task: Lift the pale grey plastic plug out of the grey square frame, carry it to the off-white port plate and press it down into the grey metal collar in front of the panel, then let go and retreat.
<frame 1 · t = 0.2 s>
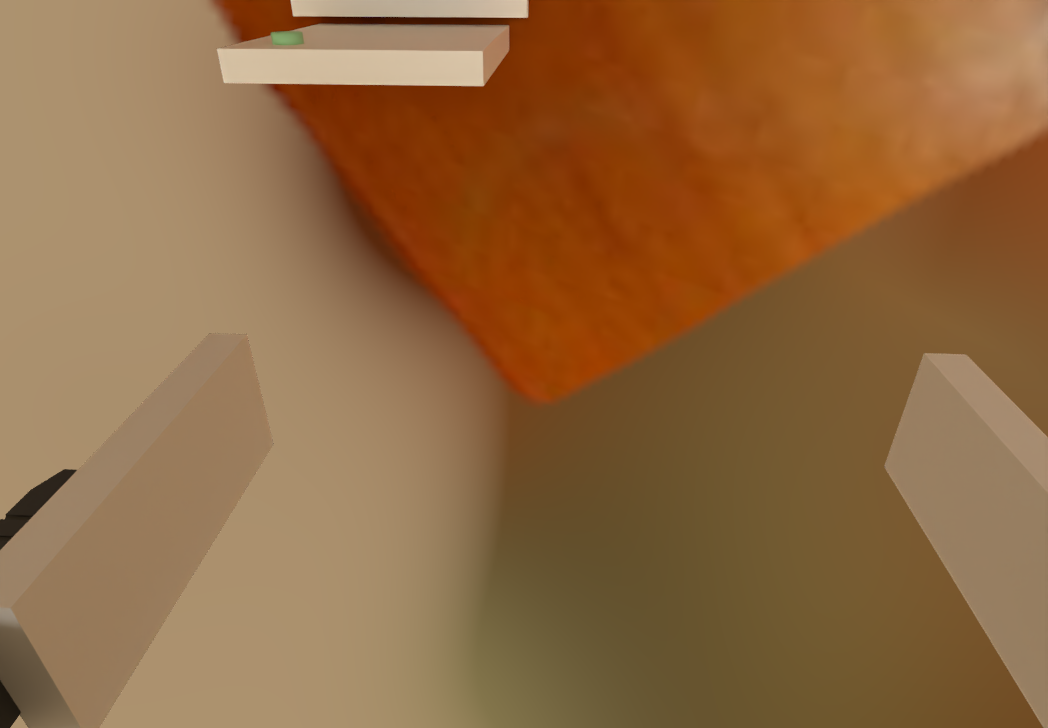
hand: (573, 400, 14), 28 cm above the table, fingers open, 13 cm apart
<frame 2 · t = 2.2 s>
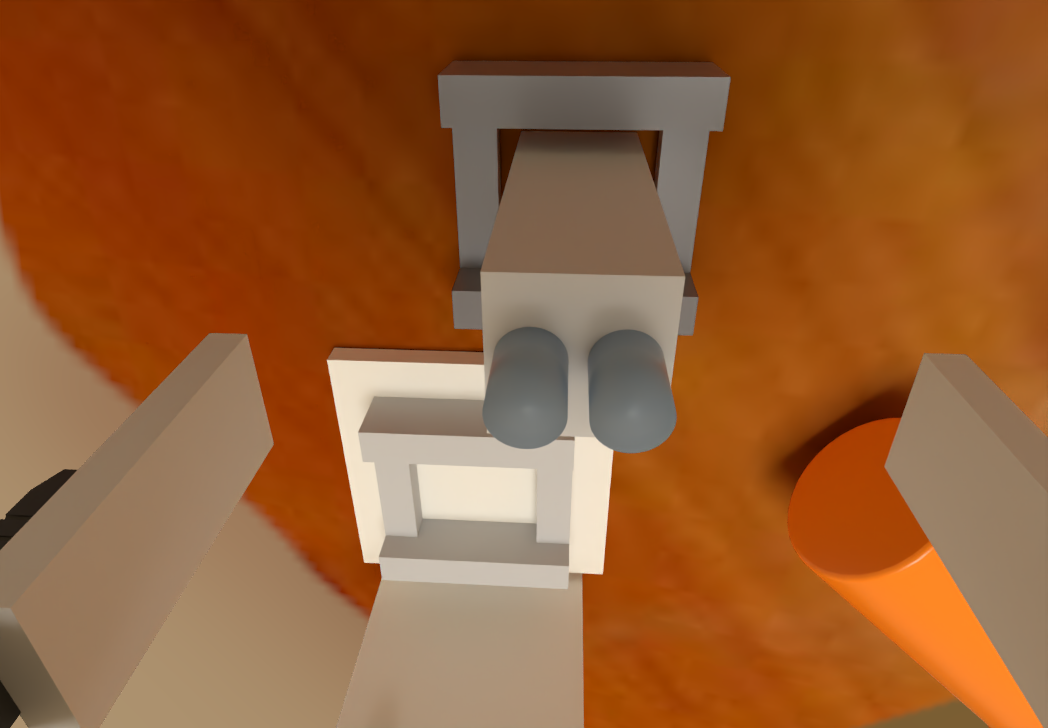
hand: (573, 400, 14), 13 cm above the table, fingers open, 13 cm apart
grey square frame: (576, 188, 24), on the table
plug: (576, 188, 24), resting in grey square frame
port: (480, 462, 32), on the table
cup: (862, 490, 25), point 4 cm above the table
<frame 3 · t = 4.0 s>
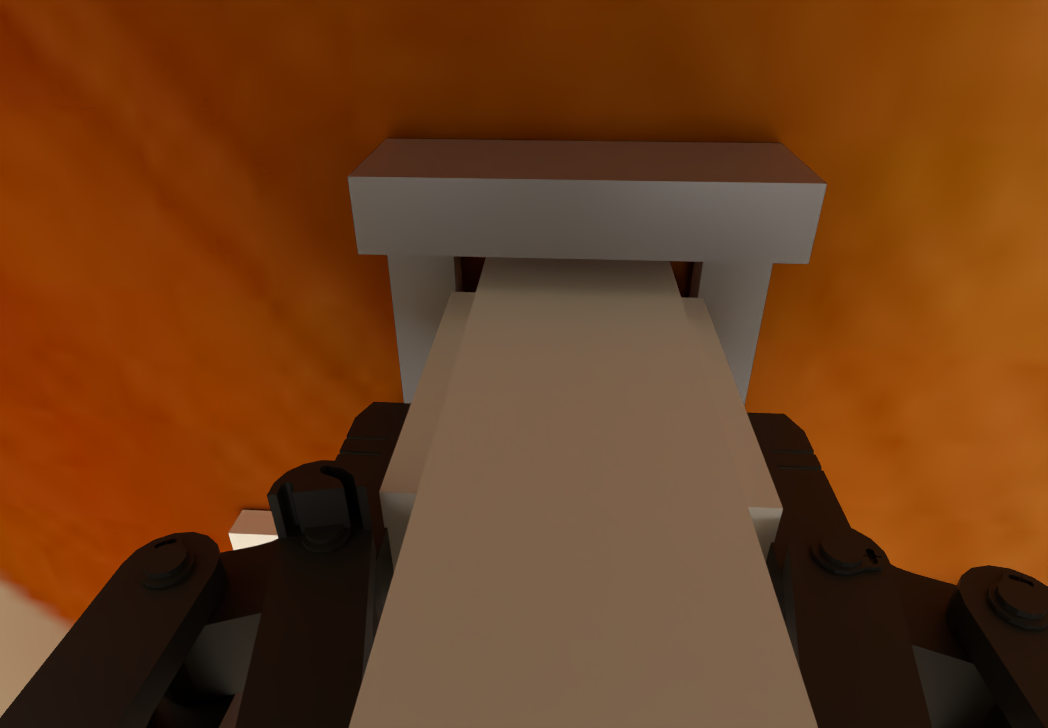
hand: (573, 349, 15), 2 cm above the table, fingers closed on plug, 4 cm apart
grey square frame: (573, 316, 17), on the table
plug: (573, 316, 17), resting in grey square frame, touching gripper
port: (446, 644, 24), on the table
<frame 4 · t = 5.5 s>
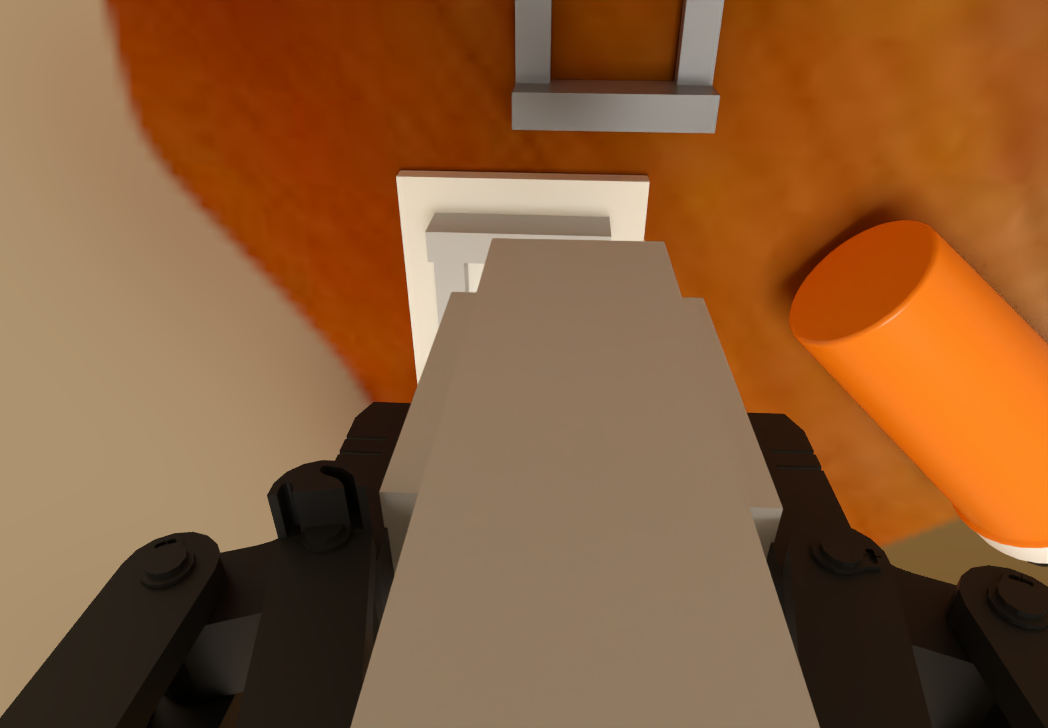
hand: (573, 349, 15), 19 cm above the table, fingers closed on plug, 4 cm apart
grey square frame: (616, 11, 29), on the table
plug: (574, 316, 17), point 18 cm above the table, touching gripper
port: (523, 284, 36), on the table
cup: (853, 278, 30), point 4 cm above the table
when the fingers open (3 cm above the table, at t = 8.3 s): plug stays where it is, resting on port.
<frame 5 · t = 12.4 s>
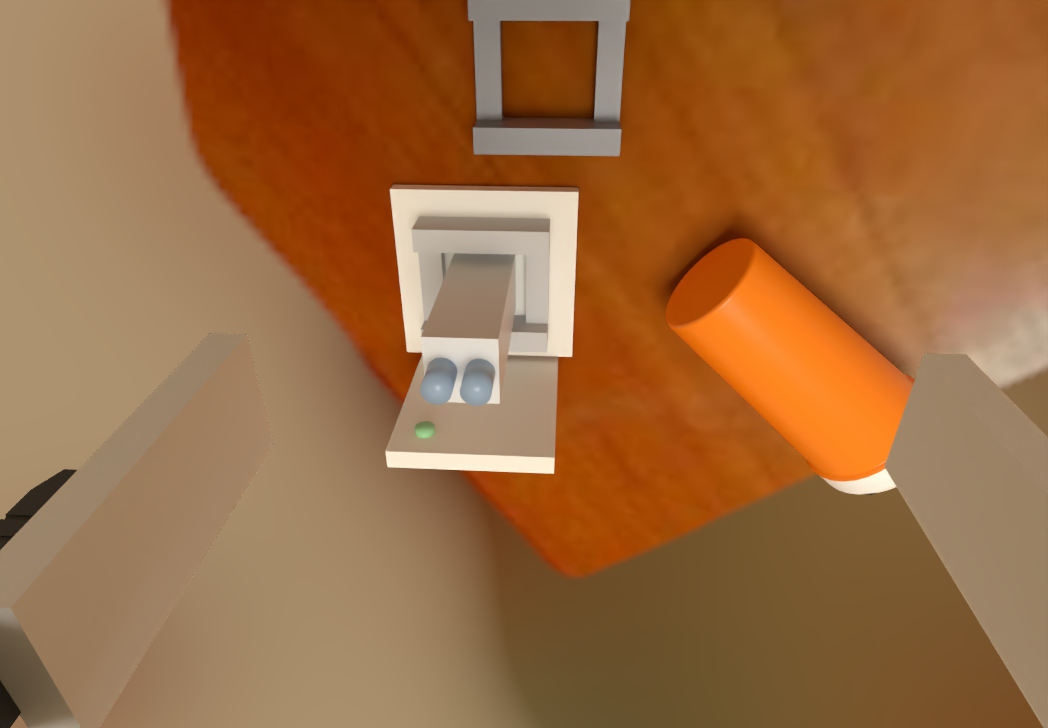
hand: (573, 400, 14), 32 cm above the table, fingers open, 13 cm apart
grey square frame: (549, 68, 40), on the table
plug: (486, 278, 46), point 1 cm above the table, touching port
port: (488, 272, 47), on the table
cup: (704, 279, 41), point 4 cm above the table
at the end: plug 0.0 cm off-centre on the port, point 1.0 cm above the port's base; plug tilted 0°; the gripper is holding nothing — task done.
